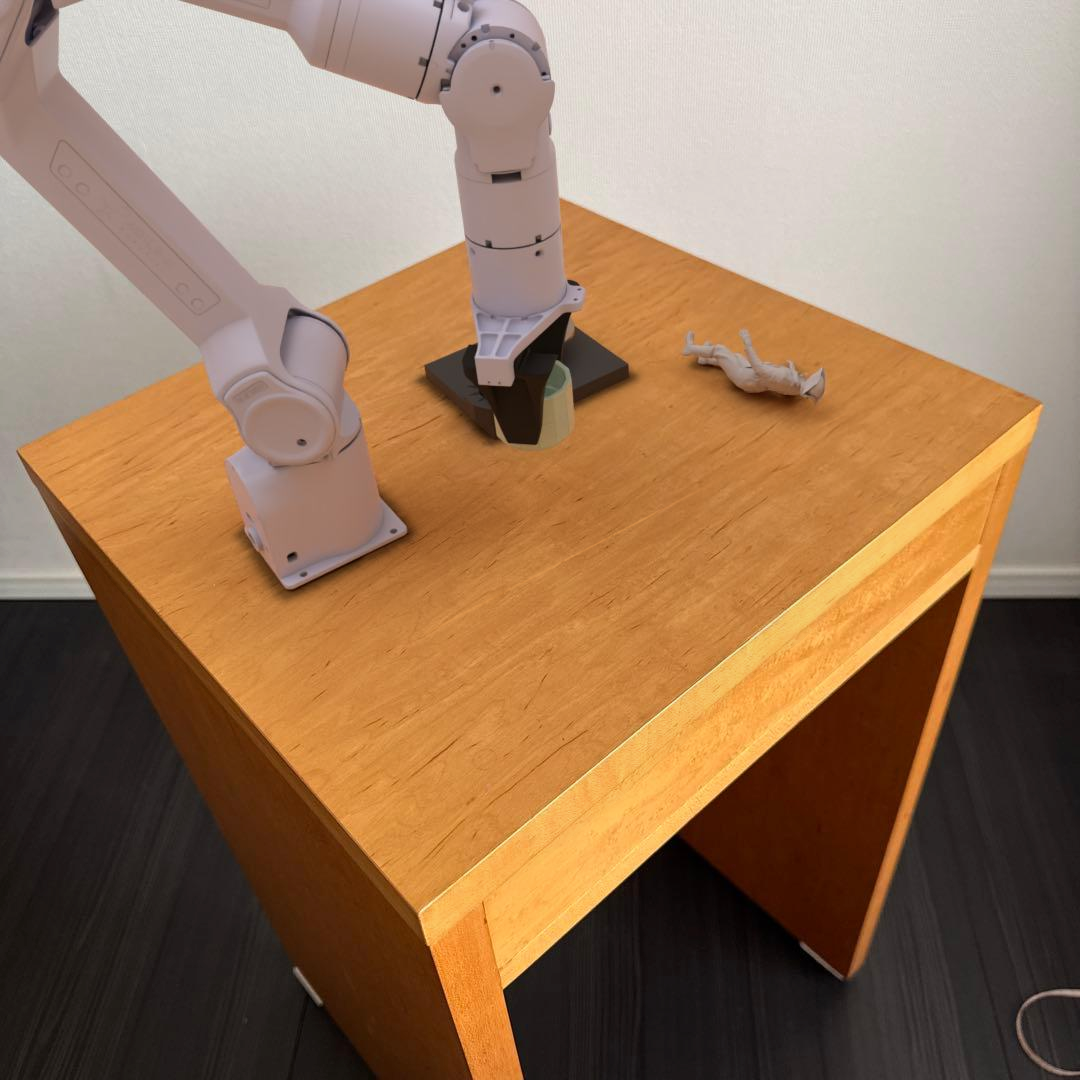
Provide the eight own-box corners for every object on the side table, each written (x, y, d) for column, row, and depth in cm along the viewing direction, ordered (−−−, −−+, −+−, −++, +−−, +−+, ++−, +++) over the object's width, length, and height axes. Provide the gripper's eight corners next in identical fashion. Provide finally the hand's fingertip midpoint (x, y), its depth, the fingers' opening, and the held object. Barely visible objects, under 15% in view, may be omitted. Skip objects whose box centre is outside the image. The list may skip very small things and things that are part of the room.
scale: (491, 449, 86) (487, 417, 84) (418, 382, 94) (412, 351, 92) (634, 382, 91) (633, 350, 89) (554, 323, 99) (551, 293, 97)
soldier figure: (728, 353, 95) (856, 355, 87) (715, 409, 95) (843, 416, 86) (674, 322, 89) (806, 321, 81) (661, 381, 89) (792, 386, 81)
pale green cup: (523, 465, 73) (517, 413, 70) (481, 426, 77) (474, 375, 74) (590, 434, 75) (587, 382, 72) (546, 398, 79) (541, 347, 76)
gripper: (554, 292, 60) (570, 487, 69) (601, 172, 70) (610, 356, 79) (427, 287, 61) (460, 479, 70) (492, 171, 72) (513, 351, 81)
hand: (532, 414), depth 75 cm, fingers closed on pale green cup, 5 cm apart
